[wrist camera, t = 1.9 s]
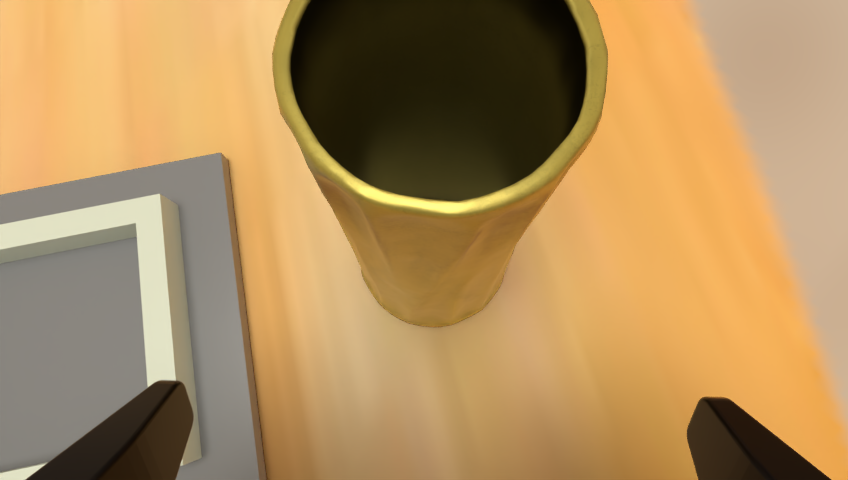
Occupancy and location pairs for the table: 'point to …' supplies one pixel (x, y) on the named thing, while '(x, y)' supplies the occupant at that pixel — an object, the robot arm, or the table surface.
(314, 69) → the vase
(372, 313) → the table surface
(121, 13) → the table surface
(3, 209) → the vase holder
